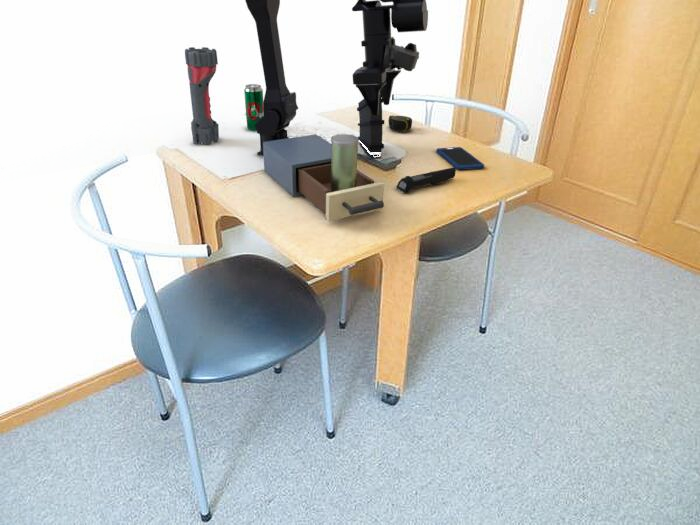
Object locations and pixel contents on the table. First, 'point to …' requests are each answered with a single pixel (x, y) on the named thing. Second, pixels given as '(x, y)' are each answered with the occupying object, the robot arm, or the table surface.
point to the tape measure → (400, 123)
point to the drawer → (340, 193)
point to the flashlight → (201, 93)
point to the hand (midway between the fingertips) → (381, 109)
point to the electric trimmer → (425, 179)
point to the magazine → (370, 128)
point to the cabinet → (294, 159)
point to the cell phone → (460, 158)
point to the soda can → (253, 104)
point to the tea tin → (343, 161)
